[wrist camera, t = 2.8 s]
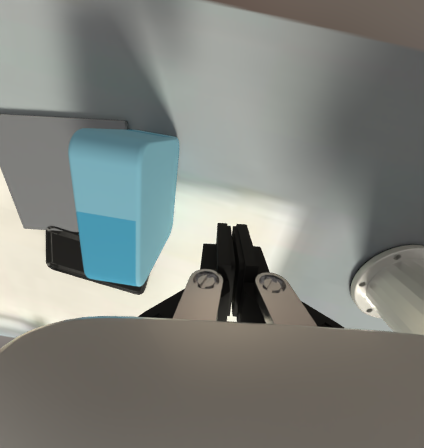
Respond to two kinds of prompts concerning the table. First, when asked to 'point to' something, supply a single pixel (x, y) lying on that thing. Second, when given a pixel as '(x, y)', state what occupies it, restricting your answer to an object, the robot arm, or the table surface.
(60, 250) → the phone
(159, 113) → the table surface
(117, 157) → the data package
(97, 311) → the table surface
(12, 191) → the mat
